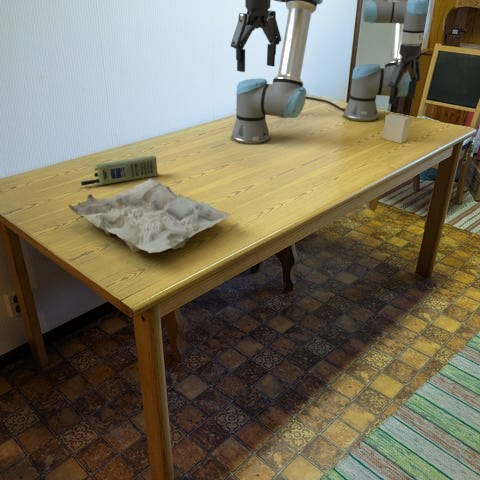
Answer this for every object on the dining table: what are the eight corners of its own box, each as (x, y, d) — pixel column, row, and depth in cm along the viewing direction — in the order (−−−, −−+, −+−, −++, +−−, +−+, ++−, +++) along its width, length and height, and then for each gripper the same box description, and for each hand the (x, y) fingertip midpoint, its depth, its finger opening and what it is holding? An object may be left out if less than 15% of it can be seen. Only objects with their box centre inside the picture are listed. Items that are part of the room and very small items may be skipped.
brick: (400, 143, 203) (404, 119, 199) (382, 138, 209) (385, 115, 204) (406, 140, 206) (410, 117, 201) (388, 136, 211) (391, 113, 207)
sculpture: (148, 192, 160) (63, 221, 139) (147, 174, 157) (60, 201, 136) (236, 233, 139) (152, 274, 118) (238, 213, 136) (151, 251, 115)
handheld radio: (158, 176, 170) (83, 189, 160) (155, 173, 172) (80, 186, 162) (156, 157, 167) (79, 169, 157) (153, 154, 169) (77, 166, 159)
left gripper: (236, -4, 140) (236, 75, 151) (294, -7, 155) (290, 65, 166) (218, -5, 145) (219, 71, 155) (276, -8, 160) (273, 62, 171)
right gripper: (402, 49, 180) (393, 108, 191) (436, 42, 195) (425, 97, 206) (384, 46, 185) (375, 104, 196) (418, 39, 200) (408, 93, 211)
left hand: (256, 68), depth 161 cm, fingers open, 13 cm apart
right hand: (401, 101), depth 201 cm, fingers open, 13 cm apart
